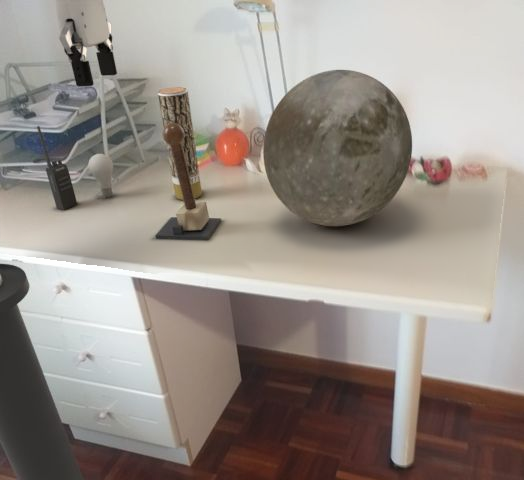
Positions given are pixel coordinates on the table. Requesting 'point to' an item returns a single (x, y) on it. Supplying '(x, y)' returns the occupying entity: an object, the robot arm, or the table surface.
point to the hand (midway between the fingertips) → (97, 80)
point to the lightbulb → (102, 172)
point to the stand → (176, 231)
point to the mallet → (185, 182)
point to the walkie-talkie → (59, 180)
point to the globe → (337, 148)
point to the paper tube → (178, 111)
